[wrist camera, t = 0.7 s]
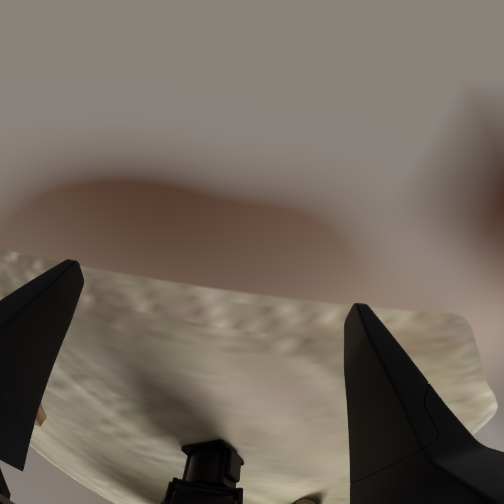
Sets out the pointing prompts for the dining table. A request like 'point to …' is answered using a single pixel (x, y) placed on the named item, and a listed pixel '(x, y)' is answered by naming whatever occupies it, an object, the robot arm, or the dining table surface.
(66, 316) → the robot arm
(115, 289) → the dining table surface
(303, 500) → the fossil
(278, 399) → the dining table surface
